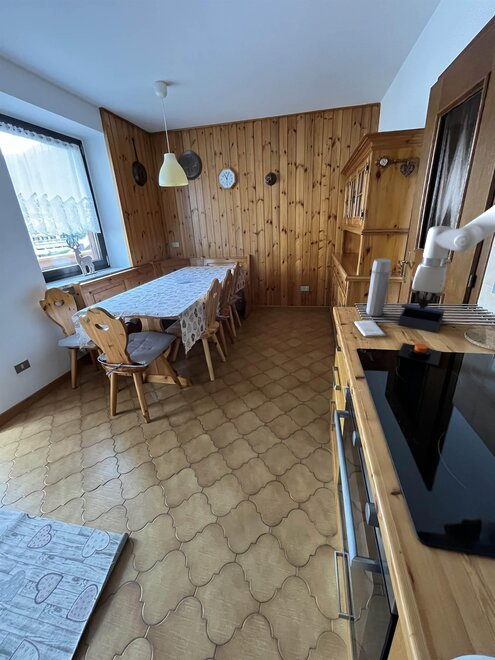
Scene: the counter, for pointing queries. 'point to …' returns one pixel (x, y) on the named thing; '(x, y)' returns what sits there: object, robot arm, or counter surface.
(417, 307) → the cover
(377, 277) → the water bottle
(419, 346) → the button
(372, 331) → the hard drive
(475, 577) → the counter surface
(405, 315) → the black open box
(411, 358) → the switch block
